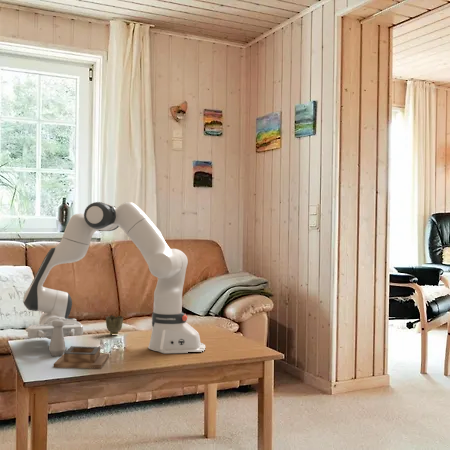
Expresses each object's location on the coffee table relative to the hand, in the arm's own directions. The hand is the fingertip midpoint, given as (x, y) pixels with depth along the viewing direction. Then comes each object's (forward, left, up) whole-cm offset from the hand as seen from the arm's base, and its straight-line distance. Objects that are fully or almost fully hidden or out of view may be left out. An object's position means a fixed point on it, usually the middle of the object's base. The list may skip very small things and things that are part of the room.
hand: (57, 334), depth 214 cm
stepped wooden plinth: (-11, +9, -7) cm, 16 cm away
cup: (-15, -37, -8) cm, 40 cm away
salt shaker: (0, 0, -8) cm, 8 cm away
